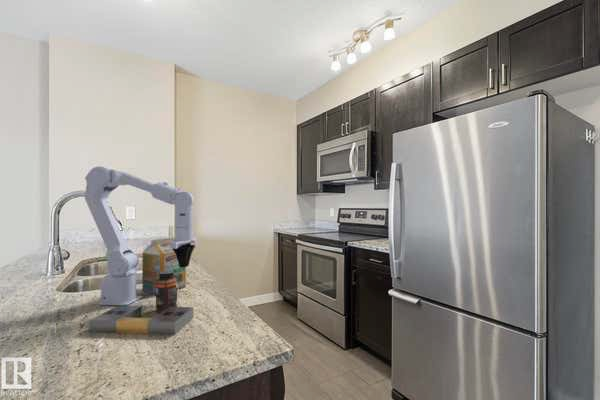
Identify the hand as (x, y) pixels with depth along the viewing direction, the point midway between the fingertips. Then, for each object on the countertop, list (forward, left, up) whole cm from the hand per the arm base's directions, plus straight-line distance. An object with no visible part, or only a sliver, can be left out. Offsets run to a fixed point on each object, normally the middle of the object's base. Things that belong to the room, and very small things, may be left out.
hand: (184, 266), depth 97 cm
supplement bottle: (0, -11, -11) cm, 15 cm away
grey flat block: (0, -22, -10) cm, 24 cm away
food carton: (-12, +9, -11) cm, 18 cm away
